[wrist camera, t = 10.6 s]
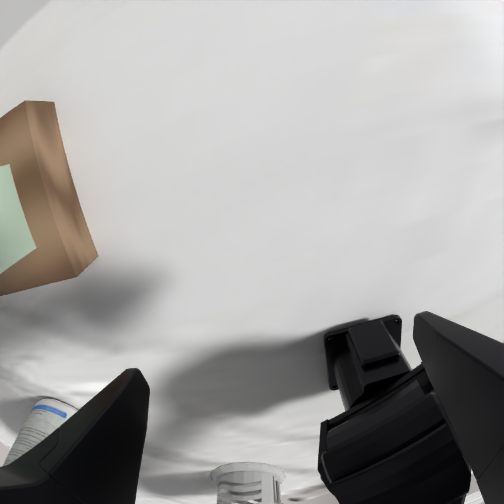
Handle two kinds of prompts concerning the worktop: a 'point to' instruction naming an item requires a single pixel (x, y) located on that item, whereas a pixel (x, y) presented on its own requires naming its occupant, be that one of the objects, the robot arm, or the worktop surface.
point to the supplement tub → (39, 426)
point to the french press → (248, 483)
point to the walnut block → (43, 199)
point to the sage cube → (12, 223)
